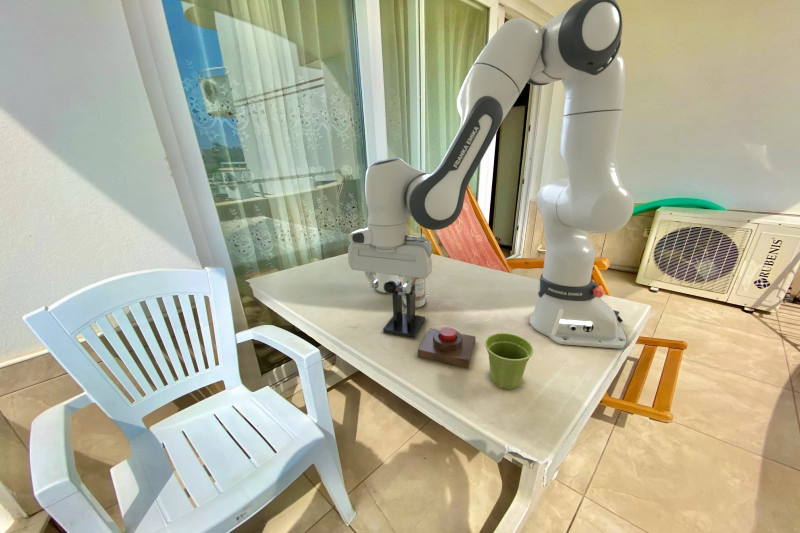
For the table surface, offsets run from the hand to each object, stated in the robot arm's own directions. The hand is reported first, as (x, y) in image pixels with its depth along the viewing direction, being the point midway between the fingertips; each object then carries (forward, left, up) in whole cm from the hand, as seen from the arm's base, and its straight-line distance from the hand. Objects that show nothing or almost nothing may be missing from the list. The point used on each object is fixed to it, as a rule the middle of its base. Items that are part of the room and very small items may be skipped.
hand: (390, 289), depth 73 cm
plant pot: (-28, +4, -15) cm, 32 cm away
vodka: (+15, -31, -15) cm, 37 cm away
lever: (0, -3, -3) cm, 5 cm away
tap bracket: (0, -9, -15) cm, 18 cm away
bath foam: (+2, -23, -15) cm, 28 cm away
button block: (-14, -2, -15) cm, 21 cm away
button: (-14, -2, -12) cm, 18 cm away
